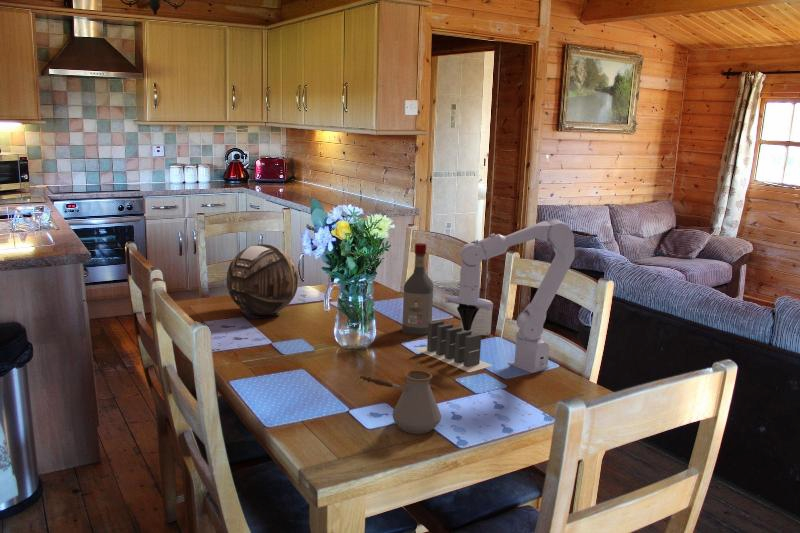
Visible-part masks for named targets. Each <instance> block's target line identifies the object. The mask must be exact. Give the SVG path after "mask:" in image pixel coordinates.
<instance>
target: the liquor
mask: <svg viewBox="0 0 800 533" xmlns="http://www.w3.org/2000/svg"><path fill="white" fill-rule="evenodd" d="M414 254H415V257H414V258H415V259H414V270H413V273H412V274H411V275H410V277H409V278H408V279H407V280H406V281H405V282H404V286H403V302H402V304H403V305H402V328H401V330H402V332H403V334H406V335H407V336H408V335H409V336H410V335H415V336H425V335H428V323H429V322H433V320H432V318H433V300H434V282H433V280H432V279H431V278H430V277H429V275H428V274H427V273H426V269H425V265H426V264H425V263H426V262H425V261H426V260H425V259H426V254H427V244H426V243H417V242H416V243H415V244H414Z"/></svg>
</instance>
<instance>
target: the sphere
mask: <svg viewBox="0 0 800 533" xmlns="http://www.w3.org/2000/svg"><path fill="white" fill-rule="evenodd" d="M298 271H299V270H298V268H297V266H296V263H295V261H294V260H293V258H292V257H291V256H290V255H289V253H287V252H286V251H285V250H283V249H281V248H280V247H277V246H274V245H271V244H264V243H263V244H262V243H261V244H255V245H251V246H248V247H246V248H244V249H243V250H241V251H240V252H238V253H237V254H236V256H235V257H233V259H232V261H231V262H230V264H229V266H228V269H227V272H226V287H227V291H228V293H229V296H230V298H231V300H232V301H233V302H234V304H236V305H237V306H238V307H239V308H240V309H241V310H243V311H245V312H246V313H249V314H252V315H255V316H268V315H273V314H275V313H277V312H280V311H282V310H283V309H285V308H286V307H287V306H288V305H289V304H290V303H291V302H292V301H293V299H294V298H295V296H296V294H297V291H298V288H299V283H300V282H299V278H300V277H299V272H298Z"/></svg>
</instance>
